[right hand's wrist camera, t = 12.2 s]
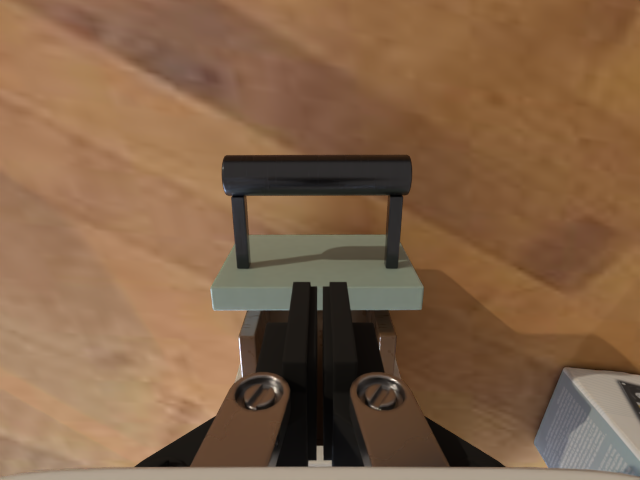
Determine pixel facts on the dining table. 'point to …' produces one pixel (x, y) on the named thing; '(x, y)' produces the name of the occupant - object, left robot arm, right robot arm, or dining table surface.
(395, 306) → the drawer
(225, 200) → the dining table surface
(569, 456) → the hard drive box
